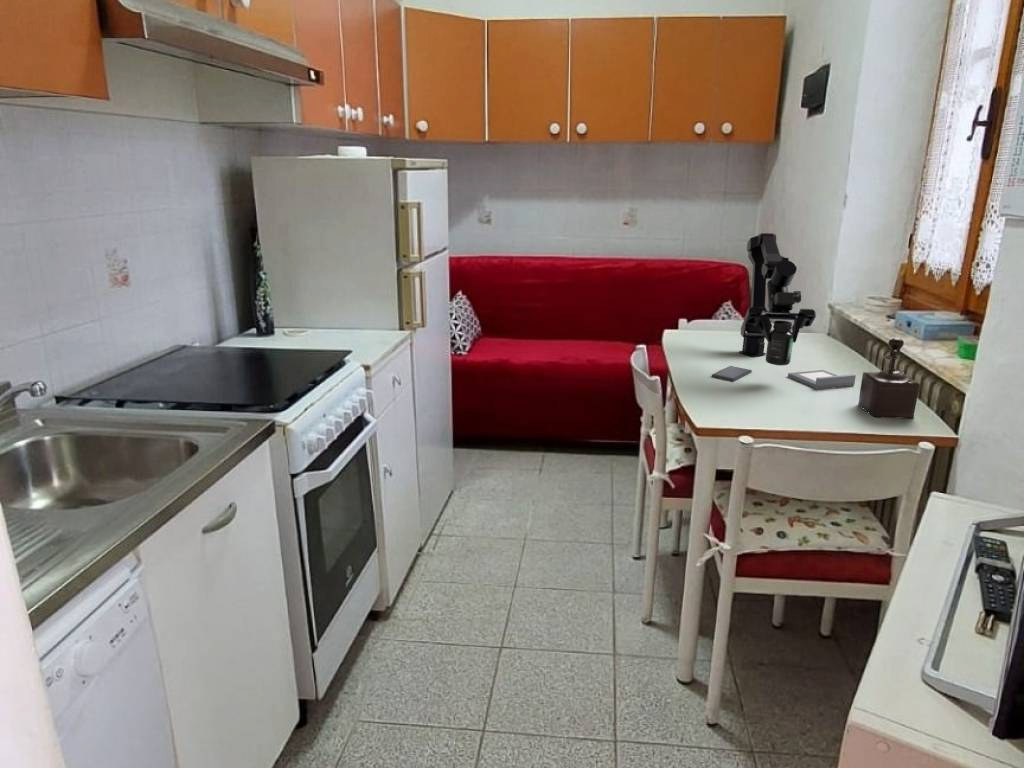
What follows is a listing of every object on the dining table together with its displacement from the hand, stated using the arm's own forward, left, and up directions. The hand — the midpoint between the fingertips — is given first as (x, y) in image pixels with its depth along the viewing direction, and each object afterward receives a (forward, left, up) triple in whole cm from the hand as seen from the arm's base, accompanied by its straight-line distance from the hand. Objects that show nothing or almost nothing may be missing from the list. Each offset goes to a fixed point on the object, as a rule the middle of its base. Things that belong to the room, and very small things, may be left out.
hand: (781, 341), depth 202 cm
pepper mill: (+27, +9, -13) cm, 32 cm away
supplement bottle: (-1, +1, -7) cm, 7 cm away
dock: (+3, +15, -13) cm, 21 cm away
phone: (-14, -4, -13) cm, 19 cm away
